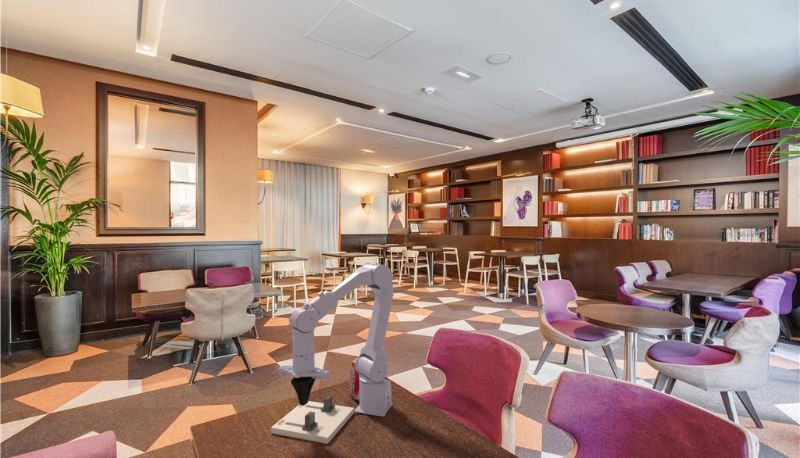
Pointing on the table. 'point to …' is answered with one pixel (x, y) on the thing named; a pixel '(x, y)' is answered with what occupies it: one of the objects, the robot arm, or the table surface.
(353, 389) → the soda can
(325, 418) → the breaker panel
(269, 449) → the table surface
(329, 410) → the block
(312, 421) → the breaker
